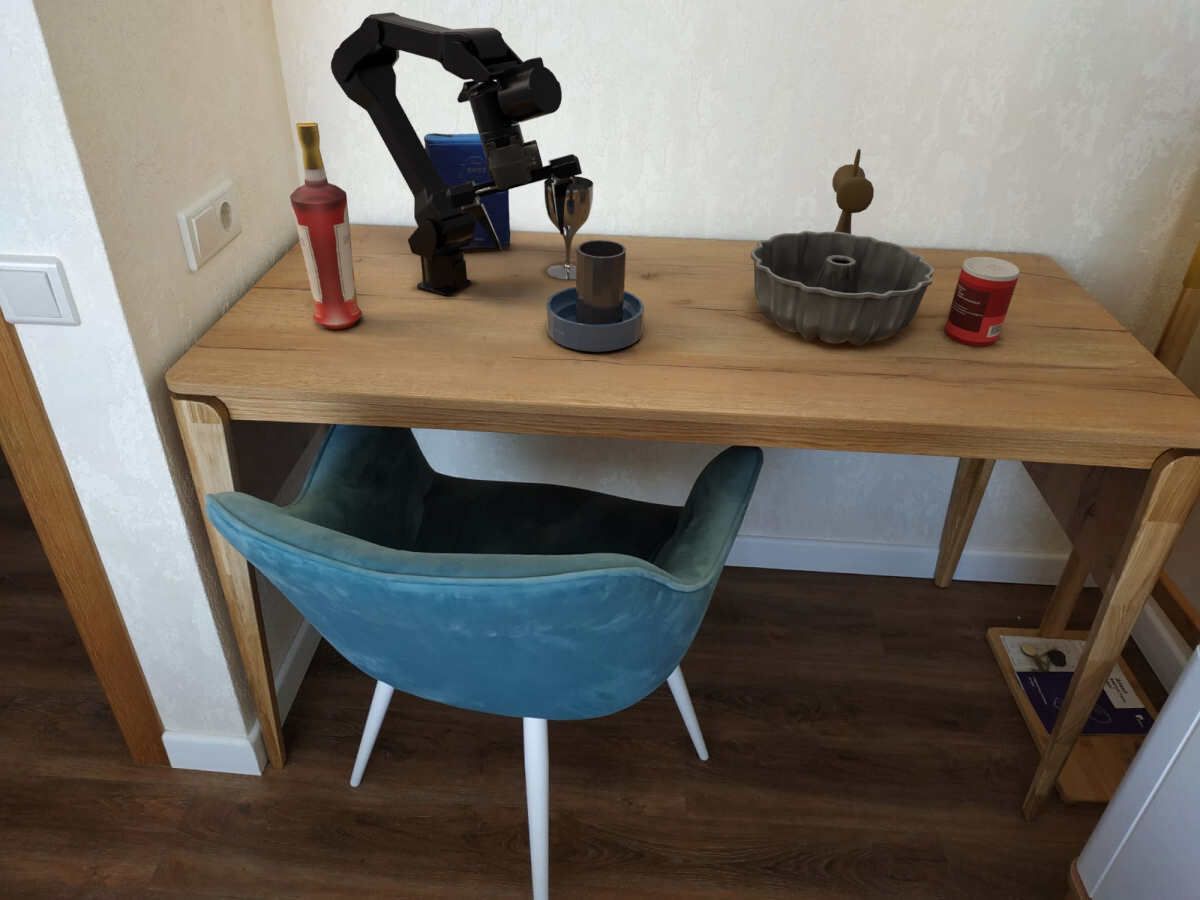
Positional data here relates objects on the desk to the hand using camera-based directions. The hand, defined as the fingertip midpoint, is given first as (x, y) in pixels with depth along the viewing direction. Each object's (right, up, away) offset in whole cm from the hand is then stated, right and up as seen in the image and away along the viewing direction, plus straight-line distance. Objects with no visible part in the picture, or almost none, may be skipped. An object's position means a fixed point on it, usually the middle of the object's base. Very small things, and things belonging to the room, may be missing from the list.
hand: (531, 242), depth 119 cm
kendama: (+52, +3, +29) cm, 60 cm away
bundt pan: (+45, -10, +9) cm, 47 cm away
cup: (+10, -12, +3) cm, 16 cm away
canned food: (+66, -13, +6) cm, 67 cm away
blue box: (-13, +6, +30) cm, 34 cm away
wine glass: (+4, +1, +23) cm, 23 cm away
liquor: (-29, -11, +4) cm, 31 cm away
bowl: (+9, -12, +3) cm, 16 cm away
